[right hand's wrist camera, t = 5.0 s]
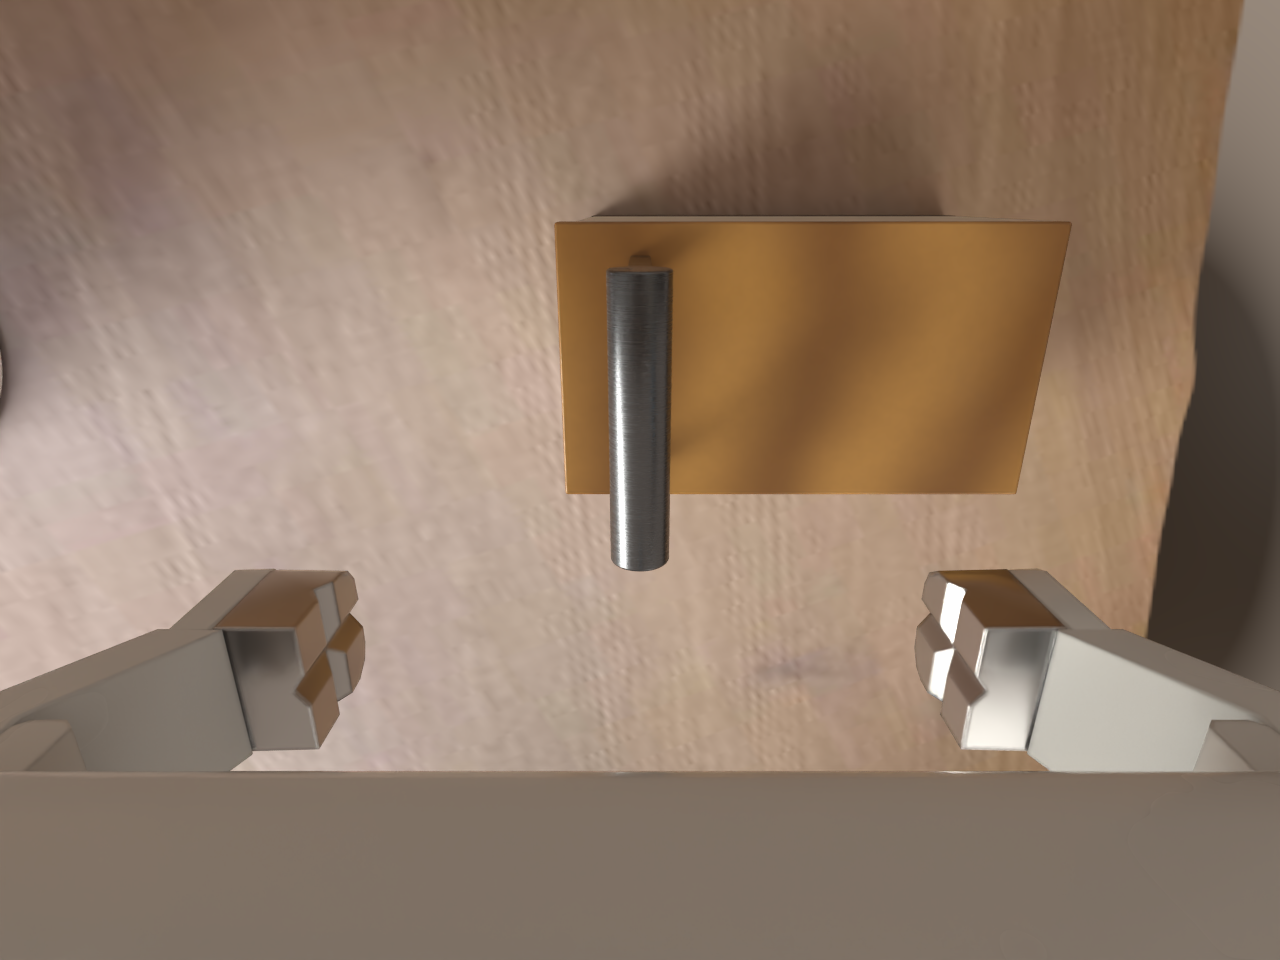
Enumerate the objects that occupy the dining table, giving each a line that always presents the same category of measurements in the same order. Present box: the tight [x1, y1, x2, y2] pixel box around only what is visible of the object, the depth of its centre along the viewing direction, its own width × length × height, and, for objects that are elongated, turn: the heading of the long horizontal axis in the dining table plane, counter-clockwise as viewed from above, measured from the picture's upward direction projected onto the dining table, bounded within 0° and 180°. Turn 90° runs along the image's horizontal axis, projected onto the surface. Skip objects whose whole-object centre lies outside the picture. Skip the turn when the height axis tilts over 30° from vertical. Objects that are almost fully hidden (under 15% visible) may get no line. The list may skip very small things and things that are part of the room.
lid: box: [554, 221, 1072, 571], centre depth 22 cm, size 17×10×8 cm, turn 90°
